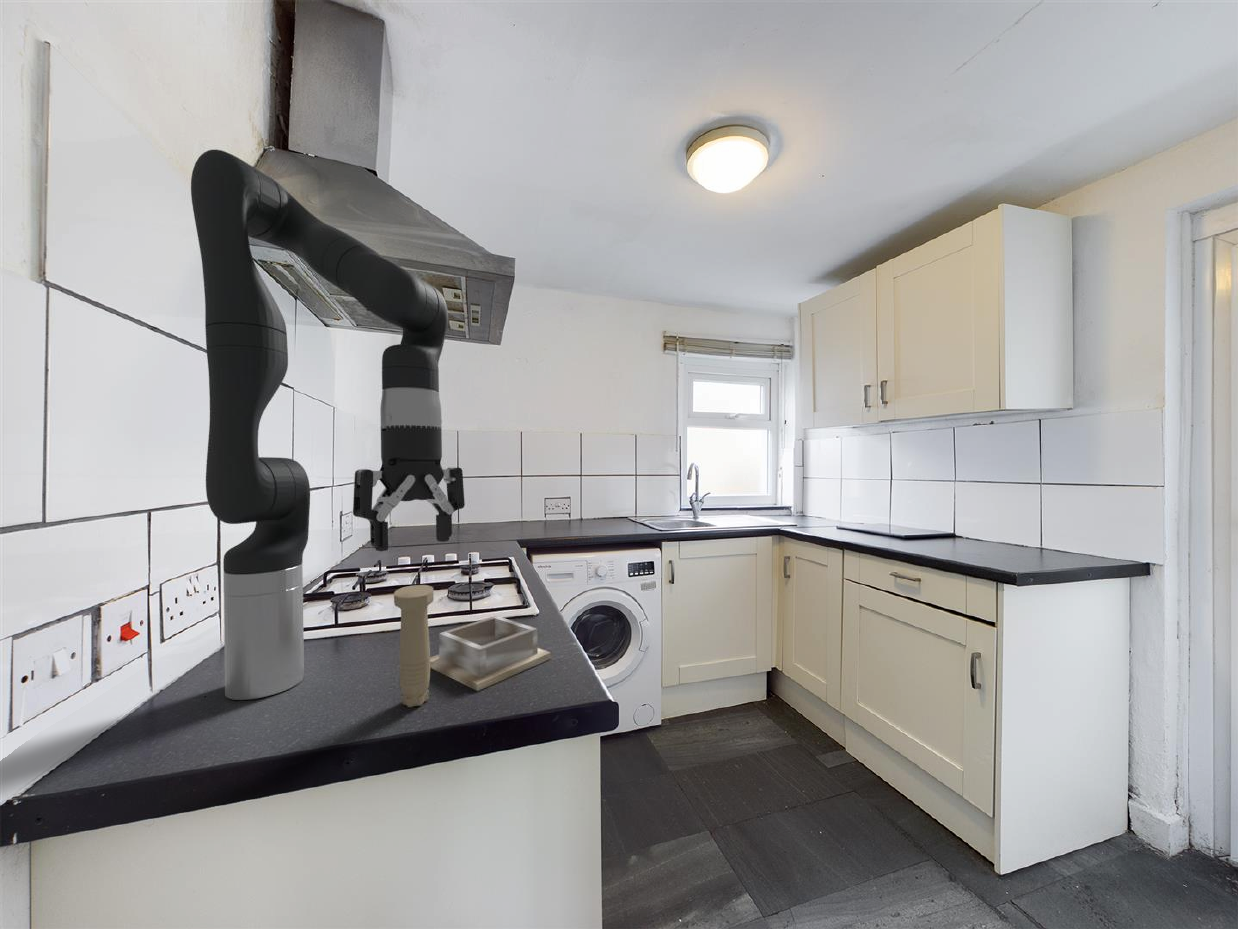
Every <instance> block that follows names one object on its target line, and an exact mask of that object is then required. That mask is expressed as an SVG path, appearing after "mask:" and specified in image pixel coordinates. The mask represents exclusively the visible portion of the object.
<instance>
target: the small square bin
mask: <svg viewBox="0 0 1238 929" xmlns="http://www.w3.org/2000/svg"><path fill="white" fill-rule="evenodd" d="M538 639H539V638H538V628H536V627H534V626H531V625H526V624H523V623H521V622H517V621H515V620H512V619H507V618H505V617H501V616H498V615H494V616H491V617H488V618H484V619H480V620H477V621H474V622H471V623H468V624H464V625H461V626H459V627H455V628H452V629H448V630H445V631H442V632H439V633H438V644H439V646H438V648H439V649H438V654H436V655H433V656H430V669H432V670H434V671H435V672H439V673H440V674H443V676H447V677H448V678H451V679H453V680H454V681H457V682H458V683H461V684H462V685H465V686H466V687H468V688H470V689H472V690H475V691H476V692H479V691H481V690H483V689H486V688H488V687H490V686H493V685H495V684H497V683H499V682H501V681H504V680H506V679H509V678H511V677H513V676H515V675H517V674H519V673H521V672H524V671H526V670H529V669H530V668H531V669H532V668H533V667H535V666H537V665H539V664H543V663H545V662H546V661H549V660H551V659H552V652H550V651H547V650H545V649H542V648H539V646H538V645H539V644H538Z"/></svg>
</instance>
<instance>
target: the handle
mask: <svg viewBox="0 0 1238 929" xmlns="http://www.w3.org/2000/svg"><path fill="white" fill-rule="evenodd" d="M434 596H435V595H434V587H433V586H430V585H429V584H428V585H427V584H419V585H417V584H415V585H409V586H403V587H401V588H399V589H396V590H395V591H394V593H393V603H394V606H395V607H397V608H399V609H400V632H399V633H400V636H399V637H400V638H399V653H398V654H399V655H398V657H399V658H398V662H399V663H398V666H399V667H398V670H399V671H398V673H399V681H400V682H399V684H400V692H401V693H402V694H401V696H400V697H401V702H402V704H403V706H404V705H405V706H407V708H413V707H417V706H422V705H423V704H424V702H426V701H427V700H428V699H429V695H430V689H428V688H429V686H430V680H431V668H430V657H431V646H430V645H431V644H430V633H429V632H430V631H429V620H428V619H429V618H428V617H429V616H428V607H429V605H430V604H431V603H433V602H434V599H435V598H434Z"/></svg>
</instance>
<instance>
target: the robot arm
mask: <svg viewBox="0 0 1238 929" xmlns="http://www.w3.org/2000/svg"><path fill="white" fill-rule="evenodd" d="M191 172H192V173H191V178H190V195H191V204H192V211H193V217H194V218H193V219H194V222H195V227H196V228H195V229H196V233H197V234H196V235H197V240H198V246H199V250H200V257H201V265H202V266H201V267H202V277H203V278H202V279H203V288H204V291H203V292H204V306H205V307H204V308H205V311H204V312H205V314H204V317H205V318H204V320H205V321H204V322H205V324H204V325H205V326H204V327H205V345H206V346H205V348H206V357H207V358H206V359H207V369H208V390H209V423H208V424H209V425H208V426H209V427H208V438H207V439H208V441H207V453H206V464H205V466H206V468H205V470H206V471H205V490H206V492H205V493H206V500H207V503H208V505H209V508H210V511H211V512H212V514H213V516H214V517H216V519H218V520H219V521H221V522H223V523H224V524H229V525H239V524H248V523H255V527H254V530H253V531H252V532H251V534H250V535H249V536H248V537H247V538H246V539H244V540H243V541H241V542H239V543H238V544H237V545H234V546H232V547H231V548H230V549H229V548H228V550H226V552H225V554H224V555H223V561H222V562H223V564H222V566H223V615H224V616H223V617H224V618H223V619H224V620H223V623H224V624H223V625H224V626H223V628H224V630H223V631H224V632H223V633H224V635H223V636H224V639H223V640H224V696H225V697H226V698H227V699H229V700H235V701H237V700H238V701H245V700H255V699H260V698H264V697H270V696H272V695H276V694H279V693H282V692H284V691H288V690H289V689H291V688H293V687H295V686H296V685H298V684H300V683H301V682H302V681H303V679H304V676H305V673H304V672H305V667H304V666H305V664H304V662H305V659H304V658H305V657H304V656H305V654H304V652H305V651H304V648H305V647H304V645H305V644H304V643H305V642H304V584H303V583H304V580H303V579H304V578H303V573H304V572H303V559H304V558H303V555H304V552H305V549H306V546H307V544H308V541H309V533H310V532H309V531H310V530H309V527H310V512H311V511H310V509H311V487H310V486H311V485H310V481H309V476H308V474H307V472H306V469H305V468H304V467H303V465H301V463H299V461H297V460H295V459H292V458H288V457H276V456H275V457H270V456H269V457H266V456H265V457H263V456H262V457H260V456H259V455H260V454H259V429H260V423H261V419H262V417H263V414H264V412H265V410H266V408H267V406H268V405H269V404H270V402H271V401H272V398H273V397H274V396H275V394H276V392H277V391H278V389H279V388H280V387H281V384H282V383H283V381H284V379H285V377H286V375H287V371H288V367H289V356H288V355H289V353H288V352H289V351H288V334H287V326H286V321H285V319H284V316H283V313H282V312H281V310H280V308H279V305H278V304H277V302H276V300H275V298H274V296H273V295H272V293H271V291H270V289H269V287H268V286H267V284H266V283H265V281H264V279H263V278H262V276H261V272H259V270H258V268H257V265H256V264H255V260H254V257H253V255H252V252H251V246H250V241H249V240H250V239H249V238H252V239H255V240H258V241H262V242H265V243H268V244H270V245H272V246H276V247H279V248H282V249H284V250H286V251H288V252H290V253H292V254H295V256H296V255H297V256H298V257H300V258H301V259H302V260H304V261H305V263H306V264H307V265H308V266H309V268H311V269H312V270H313V271H314V272H315V273H316V274H318V275H319V276H320V277H322V278H323V279H324V280H326V281H327V282H328V283H331V285H333V286H335V287H337V288H338V289H339V290H341V291H342V292H344V293H346V294H347V295H349V296H351V297H352V298H354V300H356V301H357V302H358V303H359V304H360V305H361V306H362V307H364V309H366V310H367V311H369V312H370V313H372V314H373V315H375V316H376V317H378V318H379V319H381V320H383V321H384V322H387V323H389V324H392V325H394V326H396V327H398V328H402V337H401V340H400V343H399V344H397V343H396V344H393V345H390V346H388V347H386V348H384V350H383V352H382V357H381V389H382V391H381V398H380V400H381V401H380V409H379V410H380V411H379V412H380V413H379V414H380V418H379V419H380V459H381V467H380V469H379V470H371V469H367V468H365V469H364V468H363V469H361V468H360V469H357V470H355V472H354V484H353V501H352V502H353V504H352V505H353V506H352V514H353V516H354V517H357V518H361V519H364V520H367V521H369V524H370V526H369V529H370V531H369V532H370V534H369V535H370V545H371V547H374V550H375V551H378V552H387V551H388V550H389V523H388V521H386V519H387V518H388V517H389V515H390V513H391V512H392V510H393V509H394V508H396V507H397V506H398V505H399V503H400V502H412V501H415V500H417V501H426V502H428V503H429V504H430V505H431V506H432V507H433V508H434V510H435V511H436V512H437V513H438V514H435V529H436V532H435V538H436V540H437V542H440V543H441V542H442V543H445V542H449V540H450V538H451V537H452V534H453V521H452V520H453V514H454V513H455V512H456V511H458V510H462V509H464V508H465V505H466V502H465V491H464V490H465V489H464V477H463V476H464V475H463V469H462V468H461V467H447V468H445V469H444V468H442V467H443V466H442V464H441V461H442V457H443V444H442V443H443V441H442V440H443V438H442V437H443V436H442V435H443V434H442V428H443V427H442V424H443V423H442V421H443V420H442V406H441V399H440V384H439V383H440V380H439V379H440V376H439V368H440V367H439V361H440V359H441V358H440V357H441V355H442V352H443V348H444V343H445V339H446V335H447V330H448V324H449V311H448V310H449V309H448V306H447V301H446V300H445V297H444V296H443V294H442V293H441V292H440V290H438V289H437V287H435V286H433V285H432V284H430V283H428V282H426V281H425V280H423V279H422V278H420V277H419V276H416V275H415V274H413V273H411V272H410V271H408V270H406V269H404V268H403V267H401V266H399V264H398V265H397V264H396V263H394V262H392V261H390V260H389V259H387V258H384V257H383V256H382V255H381V254H380V253H378V252H377V251H375V250H374V249H373V248H371V247H369V246H368V245H366V244H365V243H364V242H361V241H360V240H358V239H356V238H355V237H353V236H351V235H350V234H348V233H347V232H344V231H342V230H341V229H339V228H337V227H334V226H332V225H329V224H327V223H325V222H324V221H322V220H320V219H319V218H318V217H316V216H315V215H314V214H312V213H311V212H310V211H309V210H308V209H307V208H305V206H304V205H303V204H301V203H300V202H299V201H298V200H297V199H296V198H295V197H294V196H293V195H292V194H290V193H289V191H287V190H286V188H284V187H283V186H282V185H281V184H280V183H279V182H278V181H276V180H274V179H273V178H271V177H270V176H268V175H266V174H265V173H264V172H262V171H261V170H259V169H257V168H255V167H254V166H252V165H251V164H249V163H247V162H246V161H245V160H243V159H241V158H239V157H237V156H236V155H234V154H231V153H229V152H227V151H225V150H221V149H209V150H206V151H204V152H202V153H201V155H200V156H198V159H197V160H195V163H194V166H193V170H191ZM442 480H443V482H445V484H446V494H447V495H446V494H445V492H444V491H443V490H442V488H441V487H440V486H439V485H440V483H441V481H442ZM378 481H380V482H381V484H382V485H383V487H384V489H383V490H382V492H381V493H380V495H379V496H378V497H377V499H376V502H375V504H374V506H373V491H374V488H375V487H376V485H377V484H378Z"/></svg>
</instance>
